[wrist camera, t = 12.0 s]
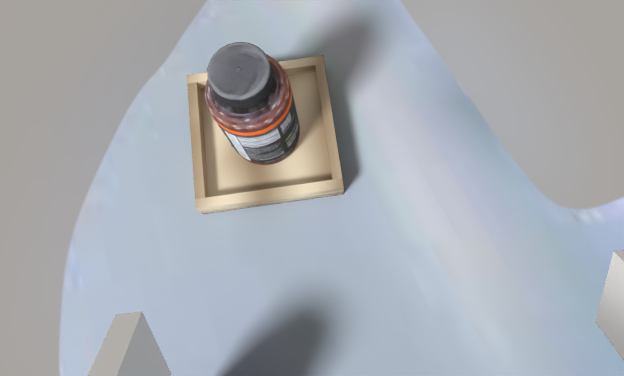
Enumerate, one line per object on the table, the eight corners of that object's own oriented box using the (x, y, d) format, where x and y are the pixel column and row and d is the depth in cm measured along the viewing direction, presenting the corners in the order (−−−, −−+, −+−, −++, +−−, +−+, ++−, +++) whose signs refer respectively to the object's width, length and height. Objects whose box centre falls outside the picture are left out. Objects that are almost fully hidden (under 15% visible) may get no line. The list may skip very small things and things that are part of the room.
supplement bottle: (235, 102, 39) (196, 24, 29) (302, 103, 39) (289, 25, 28) (229, 167, 38) (185, 111, 27) (298, 169, 38) (283, 113, 27)
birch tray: (323, 68, 41) (323, 55, 39) (343, 194, 38) (343, 187, 36) (194, 87, 41) (186, 75, 39) (203, 214, 38) (195, 208, 36)
